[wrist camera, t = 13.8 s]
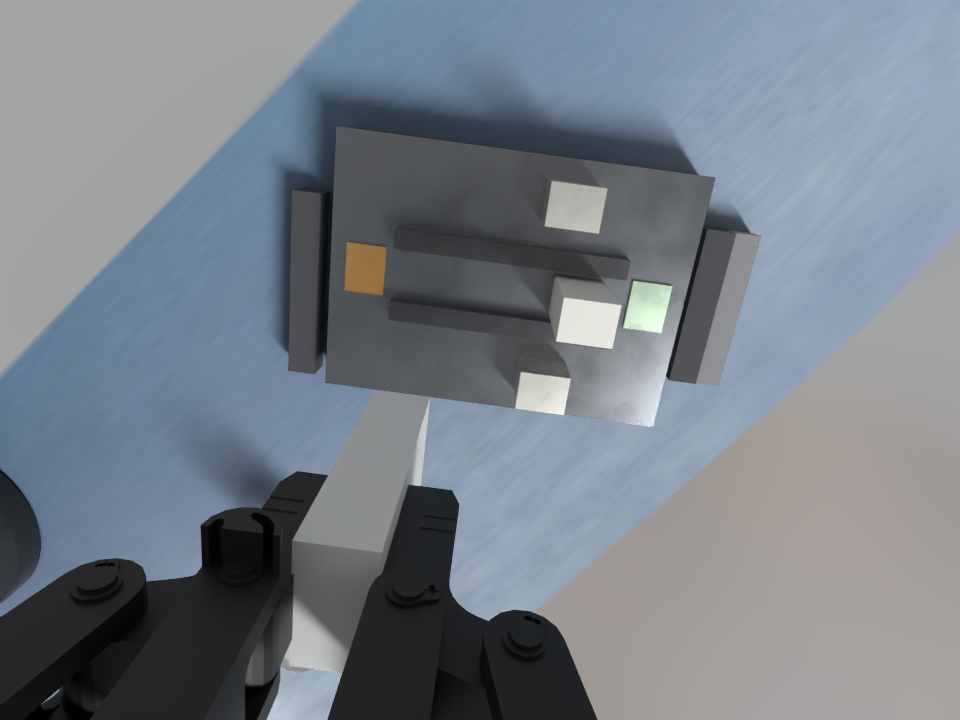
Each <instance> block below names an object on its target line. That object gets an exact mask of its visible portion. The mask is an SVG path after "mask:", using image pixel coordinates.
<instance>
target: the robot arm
mask: <svg viewBox="0 0 960 720" xmlns="http://www.w3.org/2000/svg"><path fill="white" fill-rule="evenodd" d="M429 404H430V398H429V397H422V396H414V395H407V394H400V393H392V392H385V391H377V390H375V392H374V394H373V396H372V397H371V399H370V401H369V403H368V405H367V406H366V408H365V410H364V412H363V414H362V415H361V417H360V419H359V421H358V423H357V425H356V426H355V428H354V430H353V432H352V434H351V435H350V437H349V439H348V441H347V443H346V444H345V446H344V448H343V450H342V452H341V453H340V455H339V457H338V459H337V461H336V462H335V464H334V466H333V468H332V470H331V471H330V473H329V475H321V474H314V473H307V472H299V471H297V472H295V473H294V474H292V475H291V476H289V477H287V478H286V479H284V480H283V481H281V482H280V483H279V484H278V486H277V487H276V489H275V490H274V491H273V493H272V494H271V496H270V499H268V500H267V502H266V503H265V504H264V506H263V507H262V509H259V508H242V507H241V508H236V509H231V510H225V511H223V512H221V513H218V514H216V515H214V516H212V517H210V518H209V519H208V520H206V521H205V522H204V523H203V524H202V525H201V545H202V567H201V569H200V570H199V571H198V573H197V574H196V575H194V576H190V577H184V578H178V579H168V580H158V581H148V582H146V575H145V573H144V570H143V568H142V567H141V566H140V565H138V564H137V563H135V562H133V561H130V560H124V559H118V558H115V559H104V560H97V561H94V562H91V563H87V564H84V565H81V566H79V567H77V568H75V569H73V570H71V571H69V572H67V573H65V574H64V575H62V576H61V577H59V578H58V579H56V580H55V581H53V582H52V583H50V584H49V585H48V586H46V587H45V588H43V589H42V590H40V591H39V592H37V593H36V594H34V595H33V596H31V597H30V598H28V599H27V600H25V601H24V602H22V603H21V604H19V605H18V606H16V607H15V608H14V609H12V610H11V611H9V612H8V613H6V614H5V615H3V616H2V617H0V720H266V719H267V717H268V715H269V712H270V710H271V708H272V705H273V703H274V700H275V698H276V696H277V693H278V689H279V684H280V665H281V663H282V661H283V659H284V656H285V654H286V652H287V650H288V647H289V645H290V650H289V666H294V667H302V668H309V669H317V670H324V671H332V672H339V673H342V676H341V679H340V682H339V685H338V689H337V692H336V695H335V698H334V701H333V704H332V707H331V710H330V714H329V717H328V720H597V718H596V715H595V713H594V710H593V708H592V705H591V703H590V701H589V698H588V696H587V693H586V691H585V688H584V686H583V683H582V681H581V679H580V676H579V674H578V671H577V669H576V666H575V664H574V662H573V659H572V657H571V655H570V652H569V649H568V647H567V645H566V642H565V640H564V638H563V636H562V635H561V633H560V632H559V630H558V629H557V627H556V626H555V625H553V624H552V623H551V622H550V621H548V620H547V619H546V618H544V617H542V616H540V615H537V614H535V613H532V612H530V611H521V610H511V611H507V612H502V613H500V614H498V615H497V616H495V617H494V618H492V619H491V620H490V621H487V620H484V619H482V618H479V617H477V616H475V615H473V614H471V613H470V612H468V611H466V610H465V609H464V608H463V607H461V606H460V605H459V604H458V603H457V601H456V600H455V599H454V597H453V596H452V593H451V591H450V587H449V578H450V571H451V563H452V556H453V548H454V541H455V533H456V526H457V518H458V511H459V503H458V501H457V499H456V497H455V495H454V493H453V491H452V490H445V489H438V488H430V487H423V486H421V478H422V469H423V460H424V451H425V441H426V432H427V423H428V414H429ZM40 551H41V540H40V533H39V528H38V525H37V522H36V519H35V516H34V514H33V512H32V510H31V508H30V506H29V505H28V503H27V501H26V500H25V498H24V497H23V496H22V494H21V493H20V492H19V490H18V489H17V488H16V487H15V486H14V485H13V484H12V483H11V482H10V481H9V480H8V479H7V478H6V477H5V476H4V475H3V474H2V473H1V472H0V603H2V602H3V601H4V600H6V599H7V598H8V597H9V596H10V595H11V594H13V593H14V592H15V591H16V590H17V589H18V588H19V587H21V586H22V585H23V584H24V583H25V582H26V581H27V580H28V579H29V578H30V577H31V575H32V574H33V572H34V570H35V569H36V566H37V564H38V561H39V557H40ZM58 689H60V691H59V692H58V693H57V694H56V695H55V696H53V697H52V698H51V699H49V700H47V701H46V702H44V701H45V700H46V699H47V698H49V697H50V696H51V695H52V694H53V693H54V692H56V691H57V690H58ZM43 702H44V703H43ZM42 703H43V704H42Z"/></svg>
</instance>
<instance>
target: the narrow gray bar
mask: <svg viewBox="0 0 960 720" xmlns="http://www.w3.org/2000/svg"><path fill="white" fill-rule="evenodd" d="M760 239H761V236H759V235H756V234H752V233H747V232H740V231H732V230H725V229H718V228H710V227H703V229H702V233H701V237H700V241H699V245H698V249H697V253H696V257H695V261H694V265H693V269H692V273H691V277H690V281H689V285H688V289H687V293H686V297H685V301H684V305H683V309H682V313H681V317H680V321H679V325H678V329H677V333H676V337H675V341H674V345H673V349H672V353H671V357H670V361H669V365H668V369H667V373H666V377H667V378H668V379H669V380H672V381H679V382H687V383H694V384H696V383H701V384H709V385H716V386H719V382H720V379H721V375H722V372H723V368H724V365H725V361H726V358H727V354H728V351H729V347H730V344H731V340H732V337H733V333H734V330H735V326H736V323H737V319H738V316H739V312H740V309H741V305H742V302H743V298H744V295H745V291H746V288H747V284H748V281H749V277H750V274H751V270H752V267H753V263H754V260H755V256H756V253H757V249H758V246H759V242H760Z"/></svg>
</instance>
